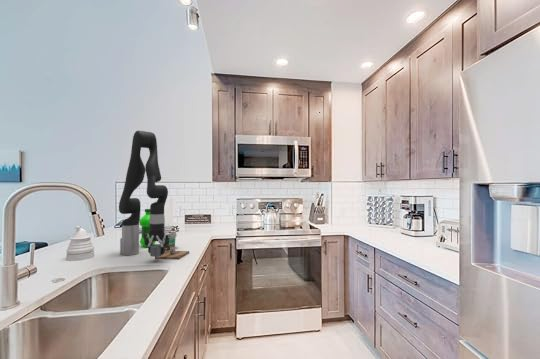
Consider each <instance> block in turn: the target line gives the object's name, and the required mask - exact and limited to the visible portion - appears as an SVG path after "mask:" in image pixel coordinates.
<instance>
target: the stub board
mask: <svg viewBox="0 0 540 359" xmlns="http://www.w3.org/2000/svg"><path fill="white" fill-rule="evenodd" d="M188 254H190V251H189V250H176V246H175V247H171V248H170V250H168V251H165V252H164V254H163V255H161V256H157V257H154V259H155V260H177V261H178V260H181V259H182V258H184V257H185V256H187V255H188Z"/></svg>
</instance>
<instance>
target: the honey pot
mask: <svg viewBox="0 0 540 359" xmlns="http://www.w3.org/2000/svg"><path fill="white" fill-rule="evenodd" d="M74 228H75V232H74V233H73V236H71V237H70V238H69V240H70V242H69V244H68V245H67V249H66V258H65V259H66V261H67V262H71V261H72V262H76V261H84V260H89V259H92V258H94V257H95V246H94V244H93V241H92V239H91V238H92V235H89V233H88V232H87V231H86V230H85V229H84V228H81V226H80V225H77V226H74Z"/></svg>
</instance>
